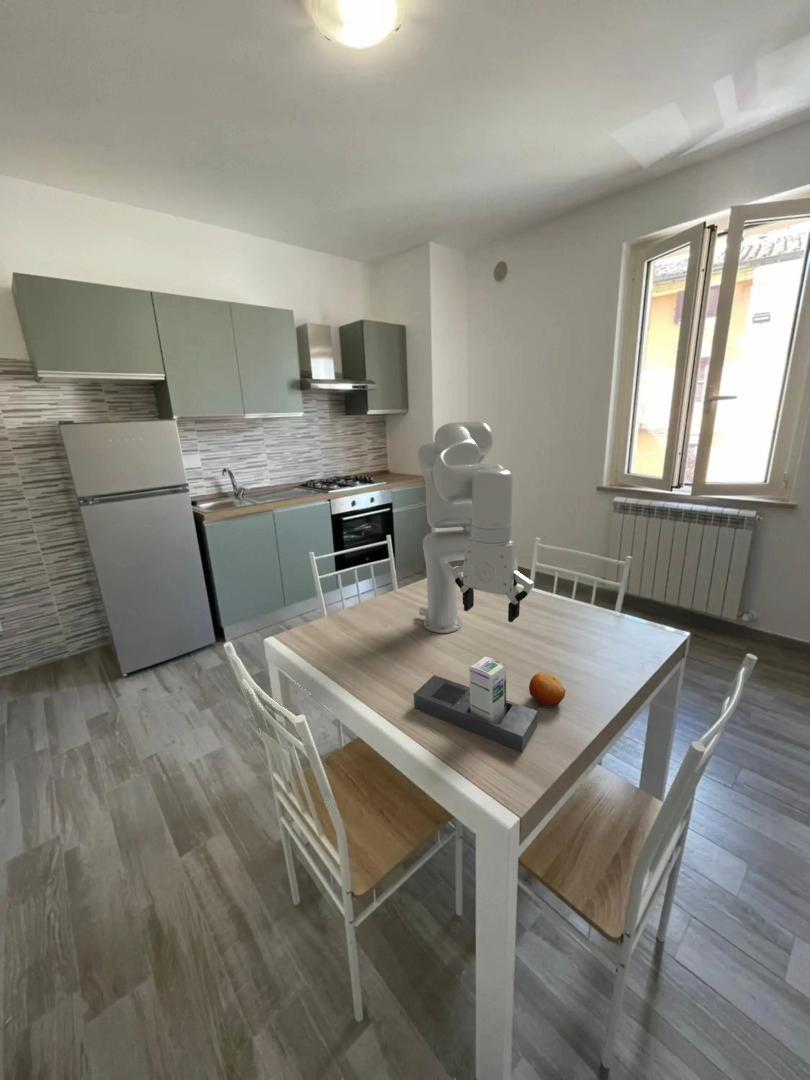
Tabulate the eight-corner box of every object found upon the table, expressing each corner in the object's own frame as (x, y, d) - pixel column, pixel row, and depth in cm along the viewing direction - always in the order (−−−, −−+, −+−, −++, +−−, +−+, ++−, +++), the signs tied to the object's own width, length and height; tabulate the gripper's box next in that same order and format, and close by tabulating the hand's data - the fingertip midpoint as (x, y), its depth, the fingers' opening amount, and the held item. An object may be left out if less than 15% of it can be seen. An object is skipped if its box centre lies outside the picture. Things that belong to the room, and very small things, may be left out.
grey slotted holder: (414, 708, 100) (413, 693, 98) (434, 688, 107) (434, 674, 105) (522, 753, 85) (522, 736, 84) (537, 726, 92) (537, 710, 91)
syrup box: (491, 736, 90) (492, 675, 86) (469, 723, 94) (468, 665, 90) (506, 722, 94) (507, 664, 90) (484, 710, 98) (484, 654, 94)
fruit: (516, 688, 103) (533, 662, 101) (542, 700, 104) (560, 674, 103) (528, 709, 95) (547, 681, 94) (556, 722, 97) (575, 694, 95)
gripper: (442, 532, 84) (444, 611, 89) (528, 544, 74) (524, 632, 79) (460, 524, 90) (461, 598, 95) (542, 534, 80) (538, 616, 85)
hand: (490, 613), depth 87 cm, fingers open, 9 cm apart
